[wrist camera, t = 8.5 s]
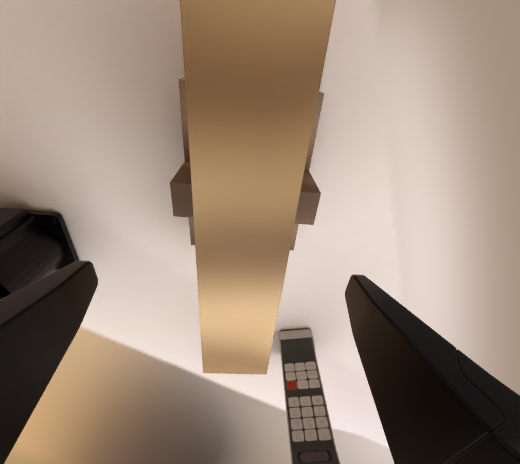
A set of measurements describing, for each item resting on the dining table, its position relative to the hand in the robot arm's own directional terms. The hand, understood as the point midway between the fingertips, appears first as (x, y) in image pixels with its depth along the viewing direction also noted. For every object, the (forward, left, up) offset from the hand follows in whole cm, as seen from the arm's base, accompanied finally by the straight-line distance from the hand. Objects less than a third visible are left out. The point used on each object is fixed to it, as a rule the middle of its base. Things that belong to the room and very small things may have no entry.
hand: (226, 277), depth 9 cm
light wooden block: (0, -1, -6) cm, 6 cm away
